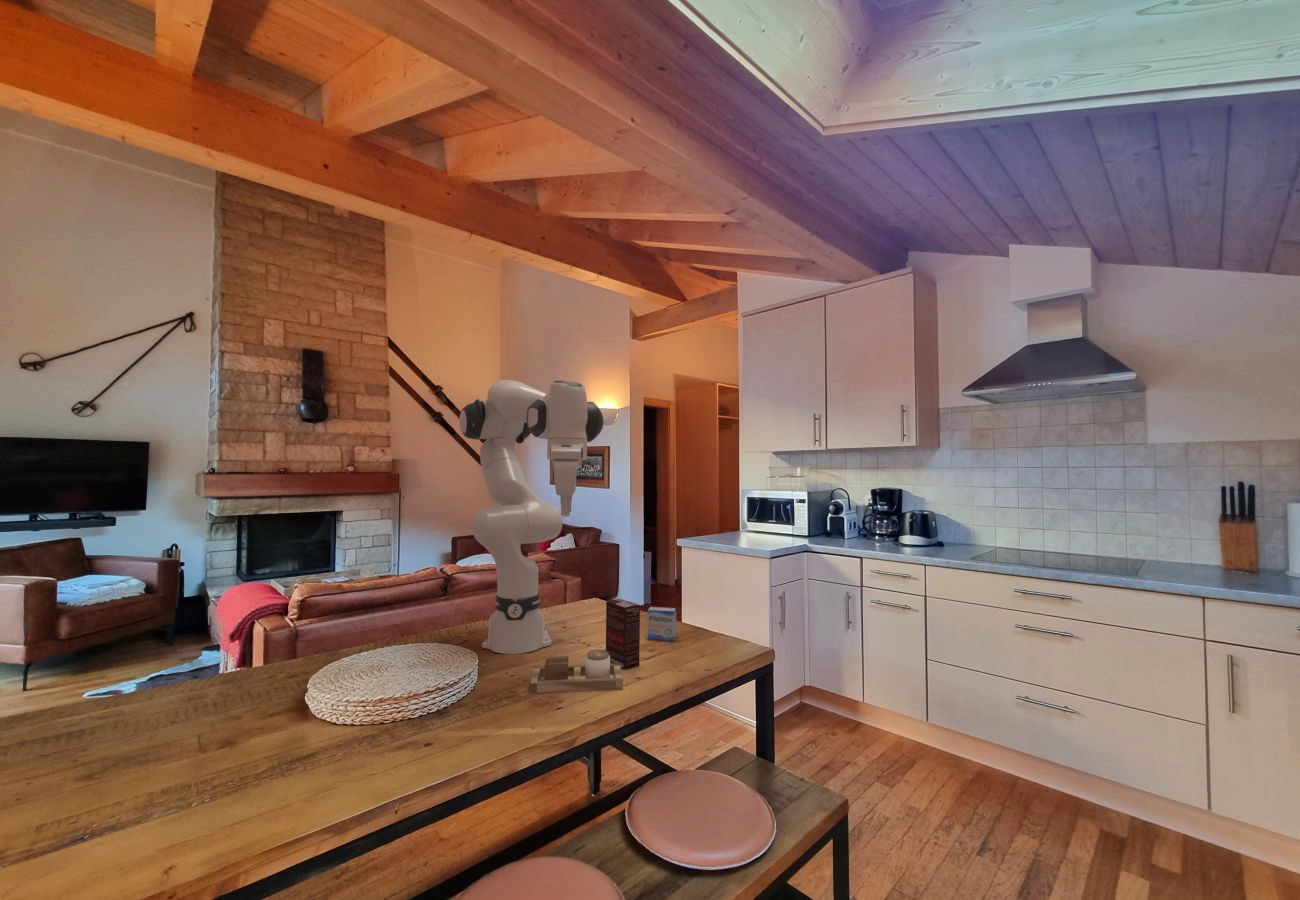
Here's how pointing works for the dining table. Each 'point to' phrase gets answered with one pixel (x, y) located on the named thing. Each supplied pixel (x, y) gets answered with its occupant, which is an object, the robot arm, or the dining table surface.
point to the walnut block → (556, 668)
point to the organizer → (576, 680)
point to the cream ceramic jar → (597, 664)
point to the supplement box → (623, 632)
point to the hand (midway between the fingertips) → (566, 514)
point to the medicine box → (661, 624)
